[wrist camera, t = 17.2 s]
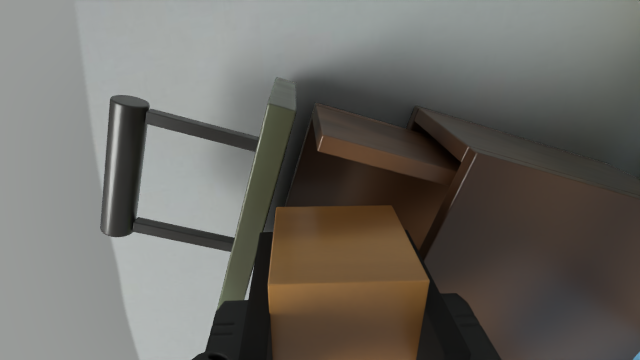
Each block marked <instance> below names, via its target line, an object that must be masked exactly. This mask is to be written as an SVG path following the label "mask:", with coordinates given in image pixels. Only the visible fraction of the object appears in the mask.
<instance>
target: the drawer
mask: <svg viewBox="0 0 640 360" xmlns="http://www.w3.org/2000/svg"><path fill="white" fill-rule="evenodd" d="M149 108H150V105H149V103H148V102H147V101H145V100H143V99H140V98H137V97H133V96H126V95H117V96H112V97H111V99H110V108H109V122H108V135H107V148H106V161H105V174H104V187H103V200H102V214H101V226H100V228H101V231H102V232H103V233H104V234H106V235H108V236H111V237H124V236H127V235H130V234H131V233H133V232H137V233H142V234H147V235H152V236H157V237H161V238H166V239H171V240H176V241H181V242H185V243H190V244H195V245H200V246H205V247H209V248H214V249H219V250H224V251H229V252H231V255H230V259H229V263H228V267H227V271H226V275H225V279H224V283H223V287H222V291H221V295H220V299H219V303H218V308H219V307H220V306H221V305H222V304H223V302H224V301H237V300H244V299H245V295H246V291H247V288H248V284H249V281H250V277H251V273H252V270H253V266H254V263H255V258H256V252H257V246H258V240H259V234H260V232H263V230H264V227H265V223H266V220H267V216H268V213H269V209H270V205H271V202H272V198H273V195H274V191H275V187H276V184H277V180H278V177H279V173H280V170H281V166H282V162H283V159H284V155H285V152H286V148H287V144H288V141H289V137H290V134H291V130H292V127H293V123H294V119H295V116H296V83H295V82H291V81H288V80H284V79H281V78H278V77H277V78H276V79H275V82H274V85H273V88H272V91H271V95H270V98H269V101H268V104H267V108H266V112H265V116H264V120H263V124H262V128H261V132H260V136H259V137H256V136H252V135H249V134H245V133H241V132H237V131H233V130H230V129H226V128H222V127H218V126H215V125H211V124H207V123H203V122H199V121H196V120H192V119H188V118H184V117H181V116H177V115H173V114H169V113H165V112H162V111H158V110H154V109H150V110H149ZM147 124H150V125H153V126H157V127H161V128H165V129H169V130H173V131H177V132H181V133H184V134H188V135H192V136H196V137H200V138H204V139H208V140H212V141H216V142H219V143H223V144H227V145H231V146H235V147H239V148H243V149H247V150H250V151H254V152H256V153H255V157H254V161H253V165H252V169H251V173H250V177H249V181H248V185H247V189H246V193H245V197H244V202H243V206H242V210H241V214H240V218H239V222H238V226H237V230H236V234H235V238H233V237H228V236H224V235H219V234H214V233H210V232H205V231H200V230H196V229H191V228H186V227H182V226H177V225H172V224H168V223H163V222H158V221H154V220H149V219H144V218H140V217H138V218H137V219H136V216H137V208H138V200H139V191H140V183H141V174H142V166H143V158H144V149H145V141H146V133H147ZM461 163H462V162H460V161H459V160H458V159H457V158H456V157H455V156H454V155H452V154H451V153H450V152H449V151H448V150H447V149H446V148H445V147H443V146H442V145H441V144H440V143H439V142H438V141H437V140H436V139H434V138H433V137H432V136H430V135H427V134H423V133H420V132H416V131H413V130H409V129H406V128H402V127H399V126H395V125H392V124H389V123H385V122H382V121H378V120H375V119H371V118H368V117H364V116H361V115H357V114H354V113H351V112H347V111H344V110H340V109H337V108H333V107H330V106H326V105H323V104H319V103H315V105H314V108H313V112H312V115H311V118H310V122H309V125H308V128H307V132H306V135H305V139H304V142H303V145H302V149H301V152H300V156H299V159H298V162H297V166H296V169H295V172H294V176H293V179H292V183H291V186H290V189H289V193H288V196H287V199H286V203H285V206H284V207H312V206H381V205H391V206H392V207H393V209H394V211H395V213H396V215H397V217H398V219H399V221H400V223H401V225H402V227H403V229H404V230H408V232H409V234H410V236H411V238H412V240H413V242H414V244H415V246H416V247H417V249H418V251H419V250H420V248H421V245H422V243H423V241H424V239H425V237H426V235H427V233H428V231H429V229H430V227H431V225H432V223H433V221H434V219H435V216H436V214H437V212H438V210H439V208H440V206H441V204H442V202H443V200H444V198H445V196H446V194H447V192H448V190H449V188H450V185H451V183H452V181H453V179H454V177H455V175H456V173H457V171H458V169H459V167H460V165H461ZM218 308H217V310H218Z"/></svg>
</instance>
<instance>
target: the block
mask: <svg viewBox="0 0 640 360" xmlns="http://www.w3.org/2000/svg"><path fill="white" fill-rule="evenodd" d="M429 282H430V281H429V278H428V276H427V274H426V272H425V270H424V268H423V266H422V264H421V262H420V260H419V258H418V257H417V255H416V253H415V251H414V249H413V247H412V245H411V243H410V241H409V239H408V237H407V235H406V233H405V231H404V229H403V227H402V225H401V223H400V221H399V219H398V217H397V215H396V213H395V211H394V209H393V207H392V206H391V205H381V206H312V207H276V213H275V222H274V231H273V241H272V250H271V259H270V269H269V278H268V300H269V313H270V319H271V338H272V356H273V360H416V357H417V351H418V345H419V339H420V333H421V327H422V321H423V315H424V310H425V305H426V299H427V293H428V287H429Z"/></svg>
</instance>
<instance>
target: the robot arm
mask: <svg viewBox="0 0 640 360" xmlns="http://www.w3.org/2000/svg"><path fill="white" fill-rule="evenodd" d="M404 231H405V233H406V235H407V237H408V239H409V241H410V243H411V245H412V247H413V249H414V251H415V253H416V255H417V257H418V258H419V260H420V262H421V264H422V266H423V268H424V270H425V272H426V274H427V276H428V278H429V281H430V282H429V287H428V293H427V299H426V305H425V310H424V315H423V321H422V327H421V333H420V339H419V345H418V351H417V357H416V360H502V359H501V358H500V356H499V354H498V353H497V351H496V349H495V348H494V346H493V344H492V343H491V341H490V339H489V338H488V336H487V334H486V332H485V331H484V329H483V327H482V326H481V325H480V322H479V321H478V319H477V317H476V316H475V315H474V312H473V311H472V309H471V307H470V306H469V304H468V302H466V301H465V300H464V299H463V298H462V297H461V296H459V295H458V294H457V293H440V292H439V290H438V288H437V286H436V284H435V282H434V280H433V278H432V276H431V275H430V273H429V271H428V269H427V267H426V265H425V263H424V261H423V259H422V257H421V255H420V253H419V251H418V249H417V247H416V246H415V244H414V242H413V240H412V238H411V236H410V234H409V232H408V230H404ZM272 241H273V232H260V234H259V240H258V246H257V252H256V258H255V263H254V269H253V275H252V281H251V287H250V293H249V299H248V300H237V301H224V302H223V304H222V305H221V306H220V307H219V308H218V310H217V311H216V314H215V317H214V321H213V326H212V328H211V332H210V336H209V339H208V343H207V347H206V351H205V352H204V353H201V354H199V355H197V356H196V357H195V358H193V359H192V360H273V356H272V338H271V319H270V313H269V300H268V278H269V269H270V259H271V250H272Z"/></svg>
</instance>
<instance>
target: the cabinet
mask: <svg viewBox="0 0 640 360" xmlns="http://www.w3.org/2000/svg"><path fill="white" fill-rule="evenodd" d="M406 129H409V130H413V131H416V132H420V133H423V134H427V135H430V136H432V137H433V138H434V139H436V140H437V141H438V142H439V143H440V144H441V145H442V146H443V147H445V148H446V149H447V150H448V151H449V152H450V153H451V154H452V155H454V156H455V157H456V158H457V159H458V160H459V161H460V162H462V163H461V165H460V167H459V169H458V171H457V173H456V175H455V177H454V179H453V181H452V183H451V185H450V188H449V190H448V192H447V194H446V196H445V198H444V200H443V202H442V204H441V206H440V208H439V210H438V212H437V214H436V216H435V219H434V221H433V223H432V225H431V227H430V229H429V231H428V233H427V235H426V237H425V239H424V241H423V243H422V245H421V248H420V250H419V253H420V255H421V257H422V259H423V261H424V263H425V265H426V267H427V269H428V271H429V273H430V275H431V276H432V278H433V280H434V282H435V284H436V286H437V288H438V290H439V292H440V293H457V294H458V295H459V296H461V297H462V298H463V299H464V300H465V301H466V302H468V304H469V306H470V307H471V309H472V311H473V312H474V315H475V316H476V317H477V319H478V321H479V322H480V325H481V326H482V327H483V329H484V331H485V332H486V334H487V336H488V338H489V339H490V341H491V343H492V344H493V346H494V348H495V349H496V351H497V353H498V354H499V356H500V358H501V359H502V360H633V359H634V358H635V356H636V355H637V354H638V353H639V352H640V179H639V178H637V177H635V176H633V175H631V174H629V173H626V172H624V171H622V170H620V169H618V168H615V167H614V166H612V165H609V164H607V163H604V162H601V161H597V160H594V159H591V158H587V157H584V156H581V155H577V154H574V153H571V152H568V151H564V150H561V149H558V148H554V147H551V146H548V145H544V144H541V143H538V142H534V141H531V140H528V139H525V138H521V137H518V136H515V135H511V134H508V133H505V132H501V131H498V130H495V129H491V128H488V127H485V126H482V125H478V124H475V123H472V122H468V121H465V120H462V119H458V118H455V117H452V116H448V115H445V114H442V113H438V112H435V111H432V110H429V109H425V108H422V107H419V106H415V107H414V110H413V112H412V115H411V117H410V120H409V122H408V125H407V127H406Z"/></svg>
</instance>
